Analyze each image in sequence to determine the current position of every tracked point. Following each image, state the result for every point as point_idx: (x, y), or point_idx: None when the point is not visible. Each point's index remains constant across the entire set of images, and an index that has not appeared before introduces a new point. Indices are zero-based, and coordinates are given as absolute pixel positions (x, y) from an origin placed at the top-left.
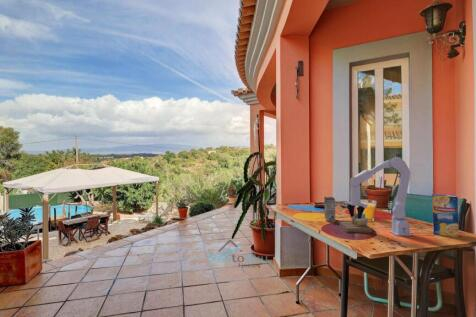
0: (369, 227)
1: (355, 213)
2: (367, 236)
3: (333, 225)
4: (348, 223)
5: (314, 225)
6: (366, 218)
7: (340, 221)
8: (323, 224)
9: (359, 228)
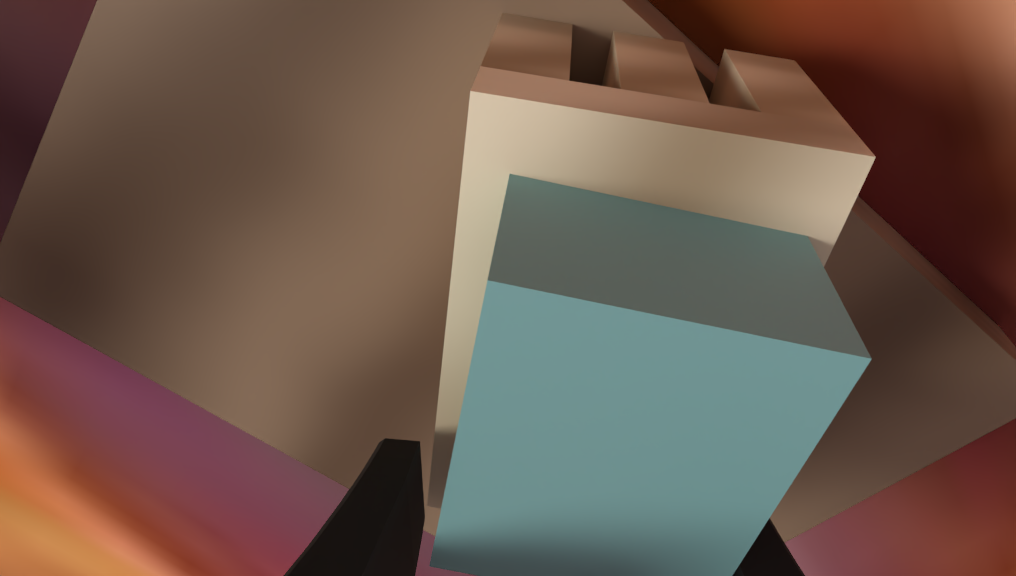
0: (975, 354)
1: (457, 539)
2: (984, 548)
3: (135, 390)
4: (379, 374)
5: (45, 568)
6: (841, 205)
7: (121, 345)
8: (10, 451)
9: (797, 529)
